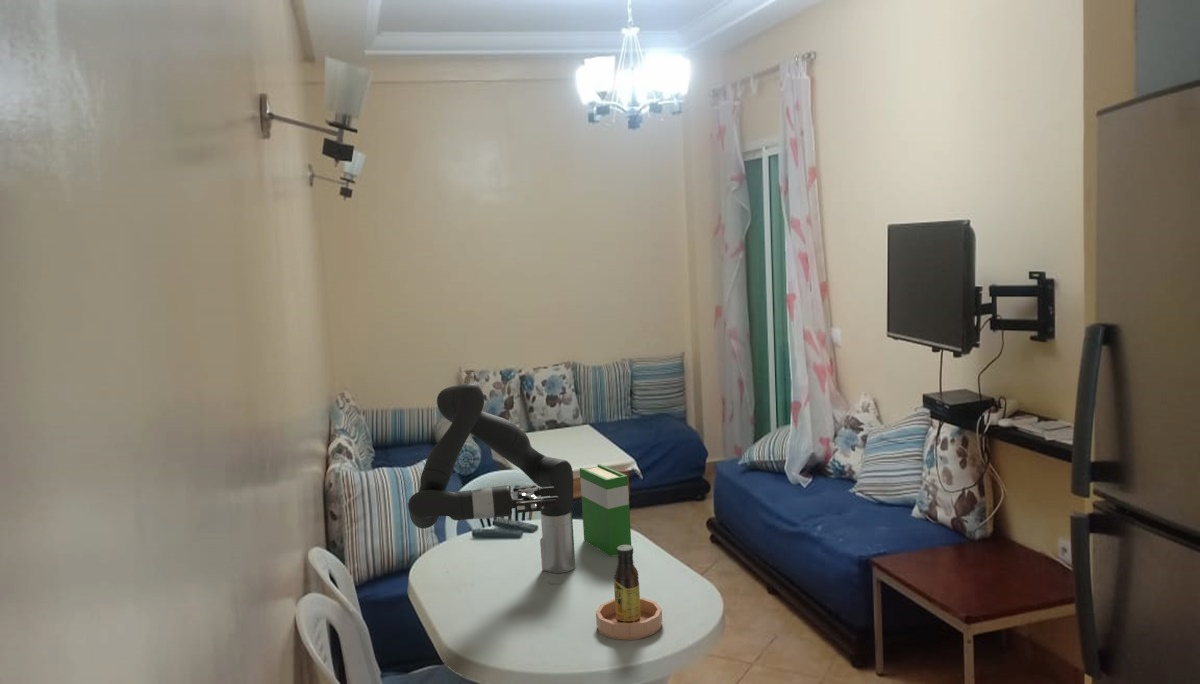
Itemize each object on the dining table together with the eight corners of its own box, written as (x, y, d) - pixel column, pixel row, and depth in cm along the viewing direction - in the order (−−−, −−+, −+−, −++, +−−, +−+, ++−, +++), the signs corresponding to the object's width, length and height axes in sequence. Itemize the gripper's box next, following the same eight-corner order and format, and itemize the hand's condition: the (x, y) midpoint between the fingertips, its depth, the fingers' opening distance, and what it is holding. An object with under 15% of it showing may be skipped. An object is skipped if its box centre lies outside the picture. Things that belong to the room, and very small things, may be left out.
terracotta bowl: (590, 637, 221) (589, 622, 221) (607, 610, 236) (606, 595, 236) (653, 642, 217) (653, 626, 216) (667, 614, 232) (666, 599, 231)
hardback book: (584, 540, 290) (579, 468, 287) (604, 535, 294) (600, 464, 291) (610, 556, 275) (606, 480, 272) (631, 551, 278) (627, 475, 275)
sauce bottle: (615, 618, 229) (610, 543, 227) (639, 615, 230) (635, 541, 227) (617, 629, 223) (613, 552, 220) (642, 627, 223) (638, 550, 221)
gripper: (491, 495, 215) (559, 488, 217) (489, 480, 229) (552, 473, 231) (493, 526, 216) (561, 519, 218) (491, 508, 230) (554, 501, 232)
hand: (556, 495), depth 225 cm, fingers open, 8 cm apart
